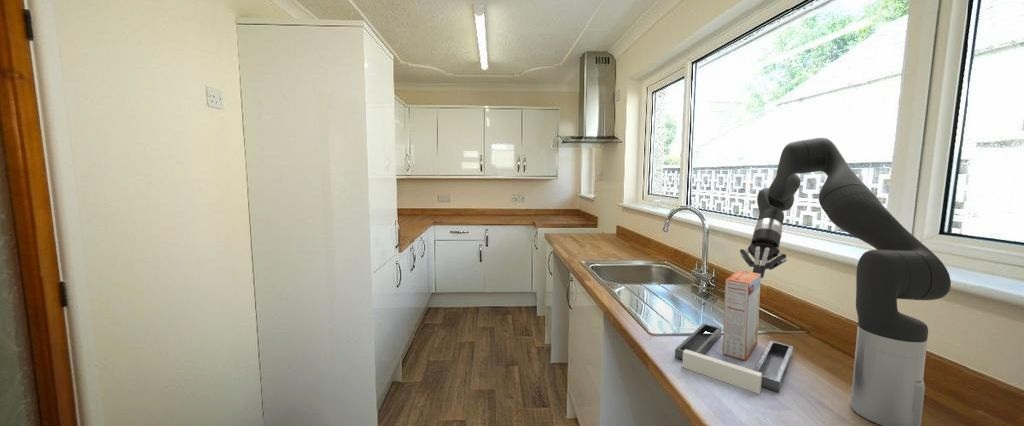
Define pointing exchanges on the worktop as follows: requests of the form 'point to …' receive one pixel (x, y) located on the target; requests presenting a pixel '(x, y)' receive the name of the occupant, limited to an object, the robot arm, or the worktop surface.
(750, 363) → the worktop surface
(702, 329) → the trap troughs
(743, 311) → the cracker box
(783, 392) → the worktop surface
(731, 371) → the bar
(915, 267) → the robot arm
